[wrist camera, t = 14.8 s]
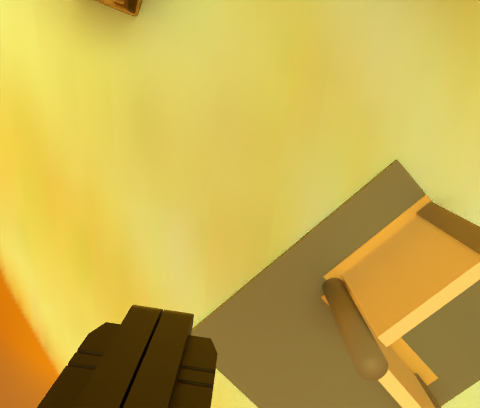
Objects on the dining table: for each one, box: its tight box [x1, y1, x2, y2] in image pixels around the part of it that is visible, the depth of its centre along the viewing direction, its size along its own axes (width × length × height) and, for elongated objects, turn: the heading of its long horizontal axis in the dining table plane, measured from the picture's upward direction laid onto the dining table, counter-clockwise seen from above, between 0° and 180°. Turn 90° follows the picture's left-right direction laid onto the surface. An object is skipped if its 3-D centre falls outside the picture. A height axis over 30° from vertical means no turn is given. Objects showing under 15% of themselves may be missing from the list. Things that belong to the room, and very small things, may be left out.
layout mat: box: [191, 160, 480, 408], centre depth 44 cm, size 30×27×1 cm
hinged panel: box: [358, 309, 441, 408], centre depth 37 cm, size 15×2×12 cm, turn 40°
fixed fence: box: [322, 201, 480, 381], centre depth 34 cm, size 15×2×13 cm, turn 132°
